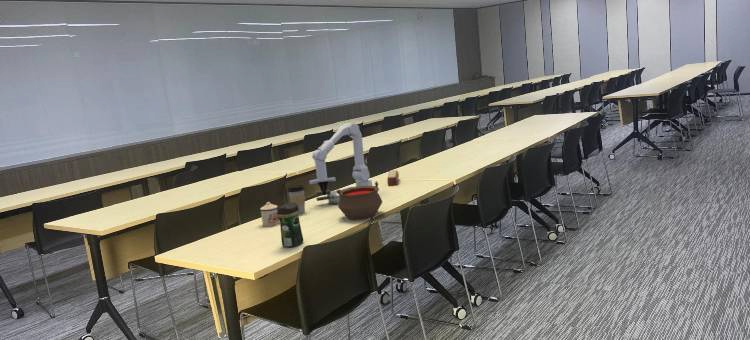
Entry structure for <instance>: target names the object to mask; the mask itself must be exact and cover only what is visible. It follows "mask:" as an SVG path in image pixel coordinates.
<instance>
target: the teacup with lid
mask: <svg viewBox="0 0 750 340" xmlns="http://www.w3.org/2000/svg"><path fill="white" fill-rule="evenodd" d="M278 207H279V206H278V205H276V204H273V203H271V202H270V201H268V202H267V201H266V204H264V205H263V206H262V207H260V209H259V210H260V214H261V215H260V216H261V219H262V220H261V222H262V225H263V227H267V228H268V227H274V226H278V225H280V220H279V217H278V215H277V208H278Z"/></svg>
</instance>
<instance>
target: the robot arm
mask: <svg viewBox="0 0 750 340" xmlns="http://www.w3.org/2000/svg"><path fill="white" fill-rule="evenodd" d="M343 136H348V137H350V138H351V139H352V147H353V156H354V166H353V167H352V173H351V175H352V178H353V179H354V181H355V187H357V186H365V185H367V186H373V181H372V180H370V177H371V176H370V171H369V168H368V166H367V165H366V163H365V156H364V147H363V146H364V145H363V136H362V131H360V125H358V124H356V123H355V122H352V123H351V122H348V123H346V122H344V123H341V125H340V126H339V127H338V129H337V130H336V132H335V133H333V135H332V137H331V138H329V140H328V139H327V140H324V141H323V143H322V144H321V145H320V146H319V147H318V148H317V149H316V150H314V151H313V153H312V155H311V157H312V159H313V160H314V165H315V171H316V178H315V179H312V180H309V185H314V184H318V187H319V188H320V189H321V191H322V192H323V195H322V196H327V195H326V191H327V187H328V185H329V183H328V182H336V181H337V179H336V176H334V177H333V176H332V177H328V172H327V164H326V159H327V157H328V154H329V153H330V152H331V151H332V150H333V149H334V148H335V144H336V143H337V142H338V141H340V139H341V138H342V137H343Z"/></svg>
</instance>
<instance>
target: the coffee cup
mask: <svg viewBox="0 0 750 340" xmlns="http://www.w3.org/2000/svg"><path fill="white" fill-rule="evenodd" d="M287 193H288V197H289V201H290V203H296V204H297V205H298V209H299V216H300V215H303V214H305V213H306V209H305V207H306V206H305V205H306V202H305V200H306V199H305V198H306V196H305V187H304V185H302V184H296V185H289V186H288V188H287Z"/></svg>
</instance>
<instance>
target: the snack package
mask: <svg viewBox="0 0 750 340" xmlns="http://www.w3.org/2000/svg"><path fill="white" fill-rule="evenodd" d="M399 174H400V173H399V171H398V170H396V169H391V170H389V171H388V175H387V180H386V181H387V185H388V186H389V187H393V186H397V185H398V181H399V176H400V175H399Z"/></svg>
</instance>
